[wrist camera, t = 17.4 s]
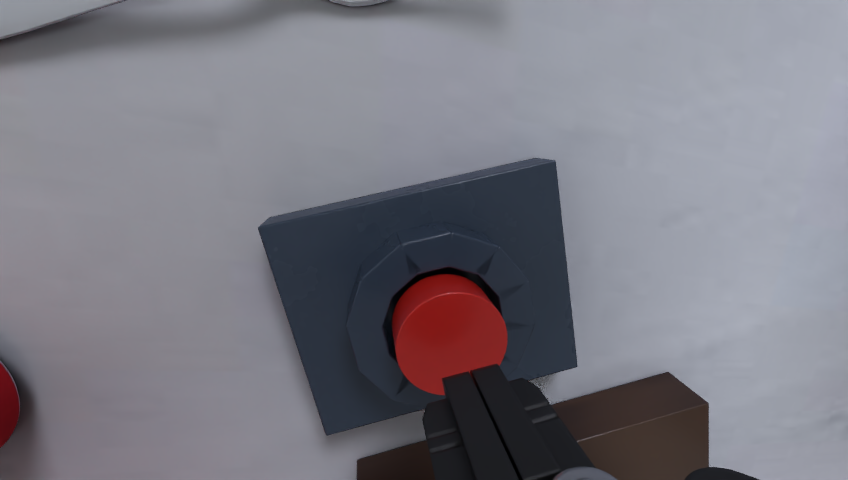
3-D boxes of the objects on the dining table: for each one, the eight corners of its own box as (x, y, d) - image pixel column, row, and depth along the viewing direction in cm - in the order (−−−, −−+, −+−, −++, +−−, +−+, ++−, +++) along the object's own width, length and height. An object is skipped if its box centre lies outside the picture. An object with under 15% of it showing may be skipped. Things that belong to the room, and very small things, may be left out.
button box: (329, 409, 18) (321, 472, 15) (268, 217, 16) (242, 240, 12) (559, 347, 19) (602, 392, 16) (537, 157, 16) (581, 163, 13)
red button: (403, 377, 15) (409, 408, 13) (381, 287, 14) (383, 308, 12) (498, 352, 15) (515, 379, 13) (482, 262, 14) (499, 279, 12)
